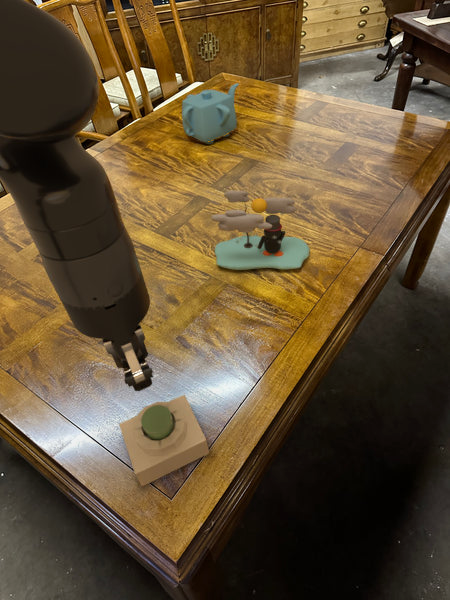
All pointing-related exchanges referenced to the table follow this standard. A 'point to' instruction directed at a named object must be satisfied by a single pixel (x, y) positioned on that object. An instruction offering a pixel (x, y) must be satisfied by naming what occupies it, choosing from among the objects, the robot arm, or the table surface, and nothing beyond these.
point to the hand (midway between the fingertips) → (142, 384)
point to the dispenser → (164, 442)
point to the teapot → (209, 114)
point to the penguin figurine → (256, 249)
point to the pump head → (157, 422)
